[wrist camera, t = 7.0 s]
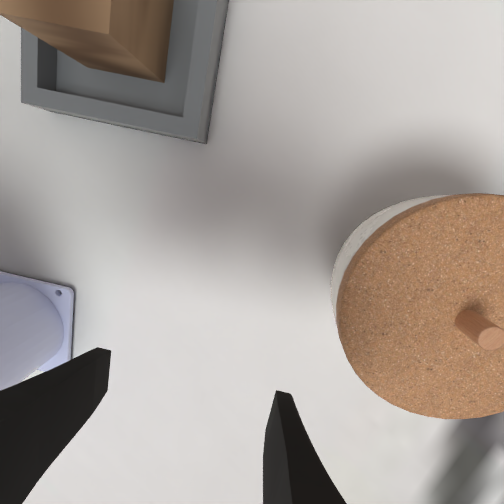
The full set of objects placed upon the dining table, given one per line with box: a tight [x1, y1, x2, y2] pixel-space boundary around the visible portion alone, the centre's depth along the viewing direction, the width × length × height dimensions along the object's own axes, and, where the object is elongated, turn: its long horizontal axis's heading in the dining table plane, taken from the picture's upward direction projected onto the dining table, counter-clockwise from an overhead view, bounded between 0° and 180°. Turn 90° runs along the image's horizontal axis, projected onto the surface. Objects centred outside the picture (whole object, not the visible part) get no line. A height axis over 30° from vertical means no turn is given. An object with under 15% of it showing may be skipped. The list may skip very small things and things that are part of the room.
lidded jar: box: [331, 193, 504, 419], centre depth 15 cm, size 11×11×9 cm
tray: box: [21, 0, 229, 144], centre depth 17 cm, size 11×11×2 cm
